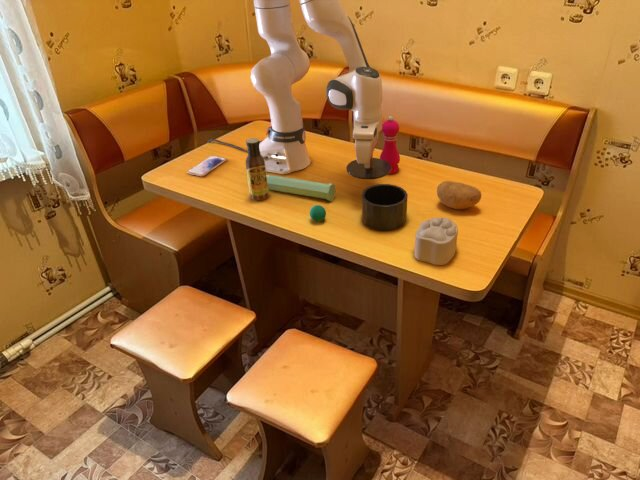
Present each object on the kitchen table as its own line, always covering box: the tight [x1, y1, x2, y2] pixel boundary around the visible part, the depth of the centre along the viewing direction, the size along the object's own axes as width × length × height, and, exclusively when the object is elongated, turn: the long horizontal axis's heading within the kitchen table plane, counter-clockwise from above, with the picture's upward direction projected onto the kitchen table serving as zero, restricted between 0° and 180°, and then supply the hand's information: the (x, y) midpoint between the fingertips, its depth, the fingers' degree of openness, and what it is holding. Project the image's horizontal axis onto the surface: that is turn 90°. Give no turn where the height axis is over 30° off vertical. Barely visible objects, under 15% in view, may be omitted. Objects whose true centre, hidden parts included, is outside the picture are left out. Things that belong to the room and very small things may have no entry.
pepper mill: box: [379, 115, 401, 175], centre depth 173 cm, size 7×7×20 cm
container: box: [267, 174, 336, 202], centre depth 165 cm, size 6×6×25 cm
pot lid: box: [345, 156, 391, 180], centre depth 161 cm, size 15×15×5 cm
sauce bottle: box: [245, 137, 269, 201], centre depth 159 cm, size 6×6×20 cm
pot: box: [361, 183, 409, 232], centre depth 151 cm, size 14×14×8 cm
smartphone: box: [187, 154, 227, 177], centre depth 183 cm, size 7×1×15 cm
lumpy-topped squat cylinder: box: [414, 216, 459, 266], centre depth 137 cm, size 10×13×9 cm
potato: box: [436, 180, 482, 210], centre depth 156 cm, size 10×14×8 cm
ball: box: [309, 204, 327, 223], centre depth 152 cm, size 5×5×5 cm
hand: (368, 164), depth 162 cm, fingers closed on pot lid, 2 cm apart
